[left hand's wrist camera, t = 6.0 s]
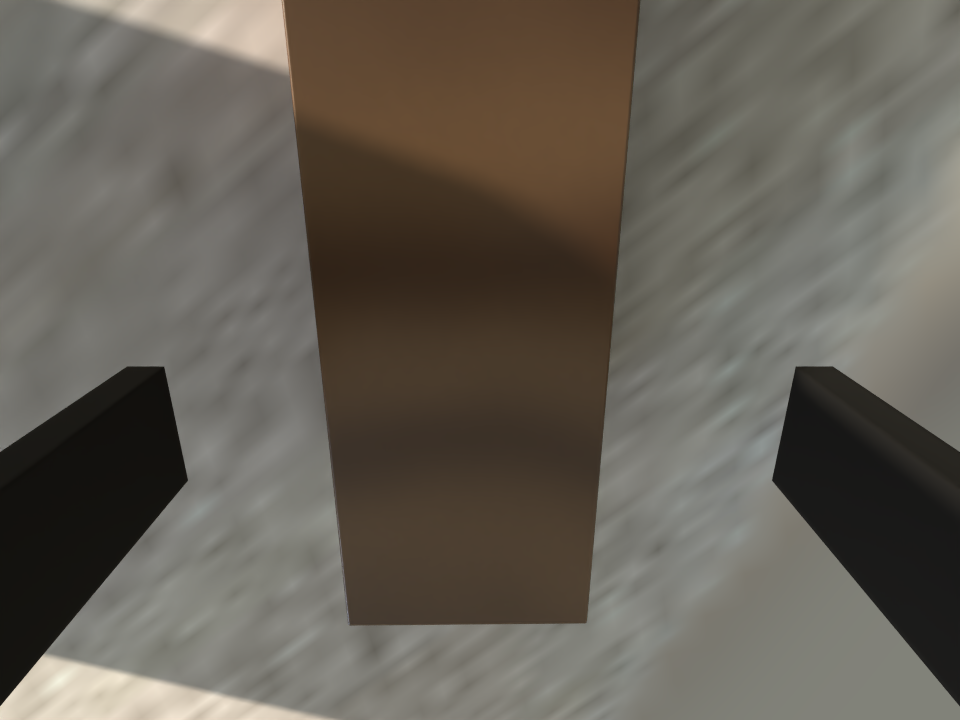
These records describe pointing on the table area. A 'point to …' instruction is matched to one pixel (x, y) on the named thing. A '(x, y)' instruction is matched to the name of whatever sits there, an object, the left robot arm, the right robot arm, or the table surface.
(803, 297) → the table surface
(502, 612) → the beam
